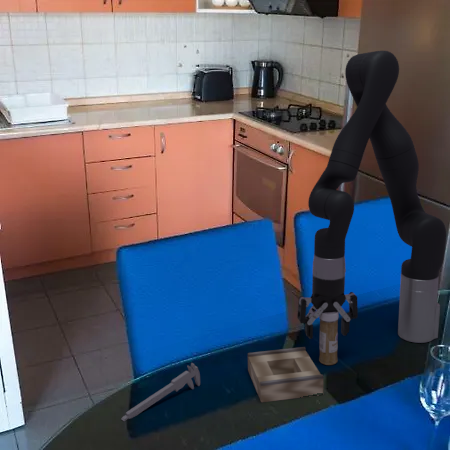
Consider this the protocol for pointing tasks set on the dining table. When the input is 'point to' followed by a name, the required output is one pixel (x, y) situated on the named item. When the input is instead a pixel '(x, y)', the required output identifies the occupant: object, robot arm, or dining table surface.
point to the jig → (284, 374)
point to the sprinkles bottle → (328, 338)
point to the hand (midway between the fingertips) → (326, 335)
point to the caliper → (167, 390)
